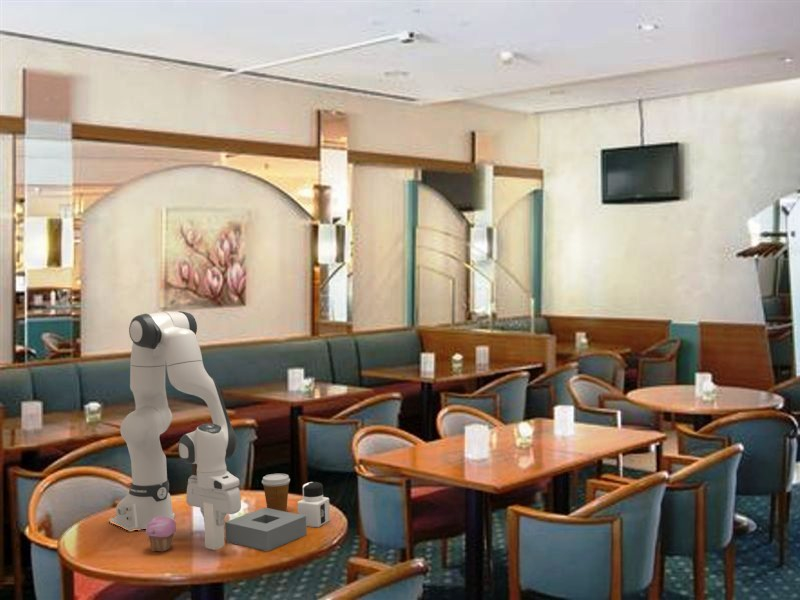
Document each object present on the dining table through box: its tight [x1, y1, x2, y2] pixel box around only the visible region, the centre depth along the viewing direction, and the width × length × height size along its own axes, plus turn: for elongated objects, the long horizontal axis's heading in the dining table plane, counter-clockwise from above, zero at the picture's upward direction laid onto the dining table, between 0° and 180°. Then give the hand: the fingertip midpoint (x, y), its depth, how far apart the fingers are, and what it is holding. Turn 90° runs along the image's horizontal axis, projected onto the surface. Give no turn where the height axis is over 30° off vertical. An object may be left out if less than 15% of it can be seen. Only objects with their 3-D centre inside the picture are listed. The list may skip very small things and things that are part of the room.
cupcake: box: [145, 516, 177, 552], centre depth 272 cm, size 9×9×10 cm
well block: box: [224, 507, 307, 552], centre depth 280 cm, size 18×18×6 cm
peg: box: [203, 502, 225, 551], centre depth 273 cm, size 4×4×14 cm
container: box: [296, 481, 331, 528], centre depth 293 cm, size 8×8×13 cm
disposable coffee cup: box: [261, 473, 291, 512], centre depth 307 cm, size 10×10×12 cm
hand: (213, 523), depth 273 cm, fingers closed on peg, 4 cm apart
